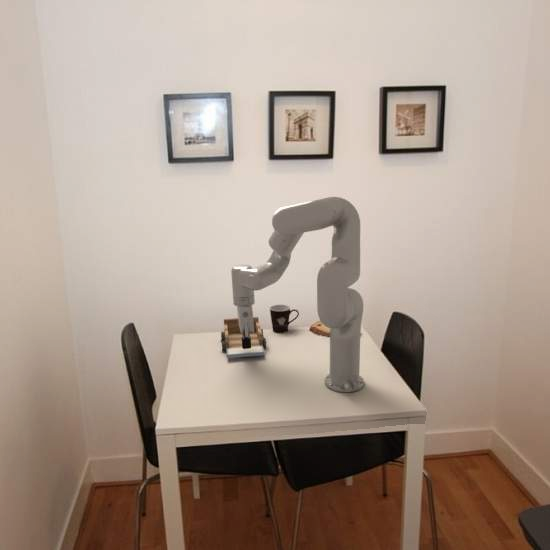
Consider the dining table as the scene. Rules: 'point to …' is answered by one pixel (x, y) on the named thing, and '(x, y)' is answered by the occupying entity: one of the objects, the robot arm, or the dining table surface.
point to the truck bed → (240, 334)
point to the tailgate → (245, 351)
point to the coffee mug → (281, 318)
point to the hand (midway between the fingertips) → (246, 347)
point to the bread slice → (320, 329)
